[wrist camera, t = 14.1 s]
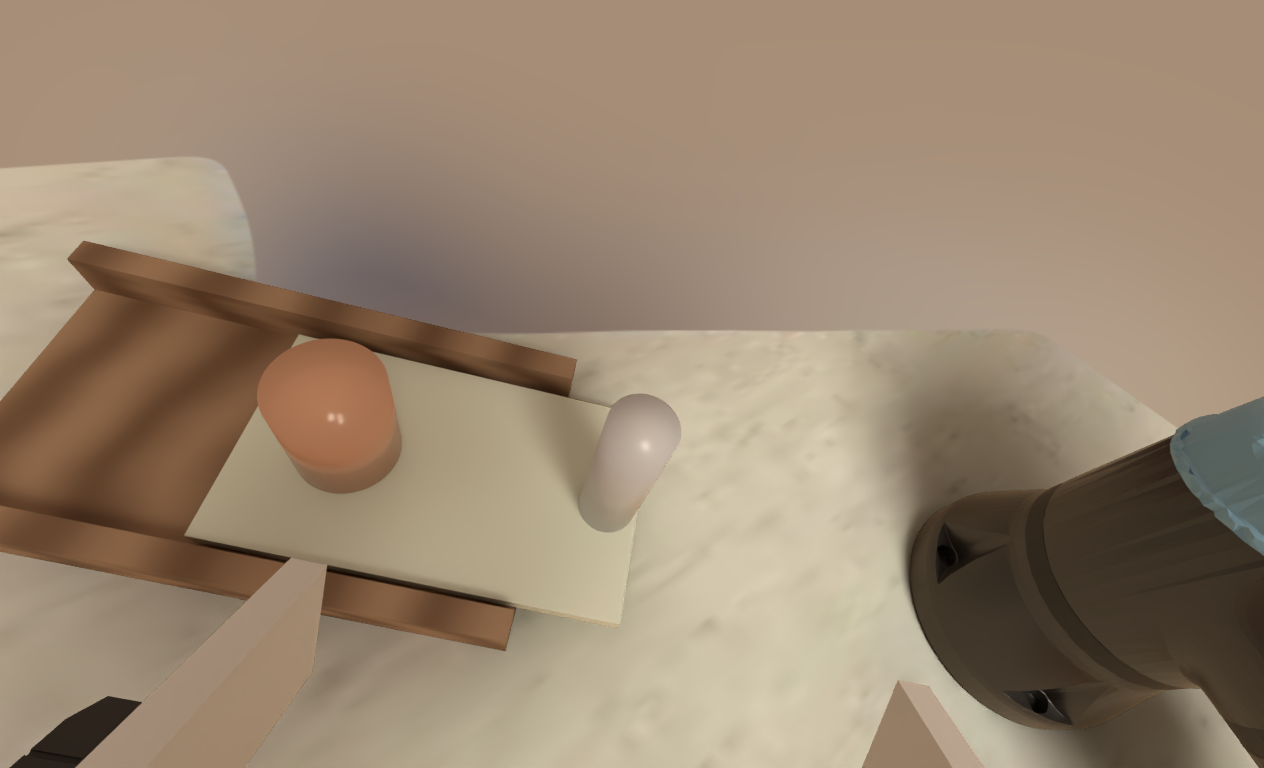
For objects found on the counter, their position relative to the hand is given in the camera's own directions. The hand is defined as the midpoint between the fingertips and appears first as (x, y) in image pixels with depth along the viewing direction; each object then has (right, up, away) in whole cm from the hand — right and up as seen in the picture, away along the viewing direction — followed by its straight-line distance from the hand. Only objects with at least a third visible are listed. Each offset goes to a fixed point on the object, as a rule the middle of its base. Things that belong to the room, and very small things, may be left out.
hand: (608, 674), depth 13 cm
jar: (-17, +3, +22) cm, 28 cm away
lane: (-21, +2, +24) cm, 32 cm away
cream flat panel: (-11, +1, +24) cm, 26 cm away
